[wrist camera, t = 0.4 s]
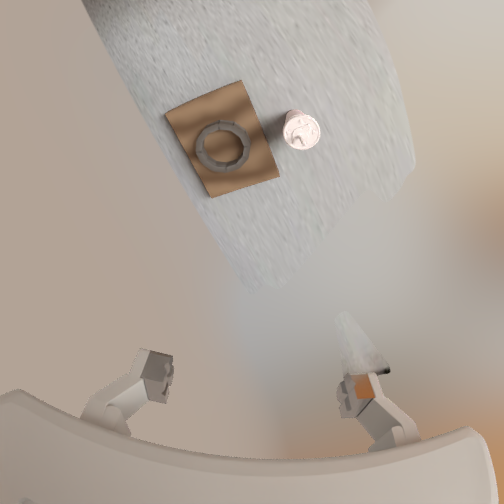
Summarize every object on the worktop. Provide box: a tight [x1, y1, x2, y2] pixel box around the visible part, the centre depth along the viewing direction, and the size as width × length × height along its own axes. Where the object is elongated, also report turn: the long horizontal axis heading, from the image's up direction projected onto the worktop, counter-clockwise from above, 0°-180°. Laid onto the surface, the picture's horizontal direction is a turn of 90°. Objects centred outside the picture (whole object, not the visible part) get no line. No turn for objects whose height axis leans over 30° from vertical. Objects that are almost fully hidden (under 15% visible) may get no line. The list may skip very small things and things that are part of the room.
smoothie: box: [283, 109, 320, 150], centre depth 43 cm, size 6×6×14 cm
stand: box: [165, 80, 280, 198], centre depth 51 cm, size 22×16×4 cm
